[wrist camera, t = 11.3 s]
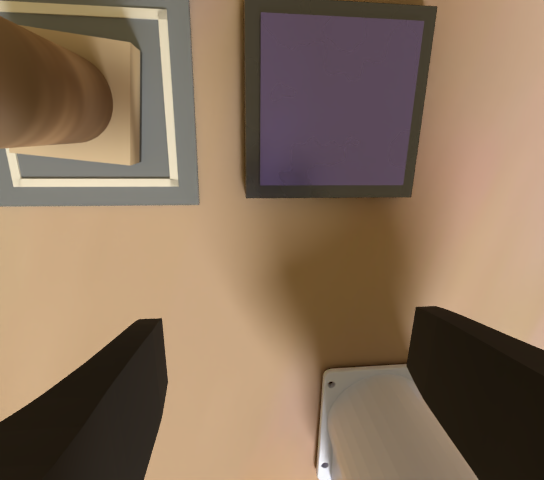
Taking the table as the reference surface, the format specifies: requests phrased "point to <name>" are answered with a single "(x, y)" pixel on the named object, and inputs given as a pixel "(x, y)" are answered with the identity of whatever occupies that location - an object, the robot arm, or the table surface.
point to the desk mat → (155, 110)
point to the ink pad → (333, 97)
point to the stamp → (69, 95)
